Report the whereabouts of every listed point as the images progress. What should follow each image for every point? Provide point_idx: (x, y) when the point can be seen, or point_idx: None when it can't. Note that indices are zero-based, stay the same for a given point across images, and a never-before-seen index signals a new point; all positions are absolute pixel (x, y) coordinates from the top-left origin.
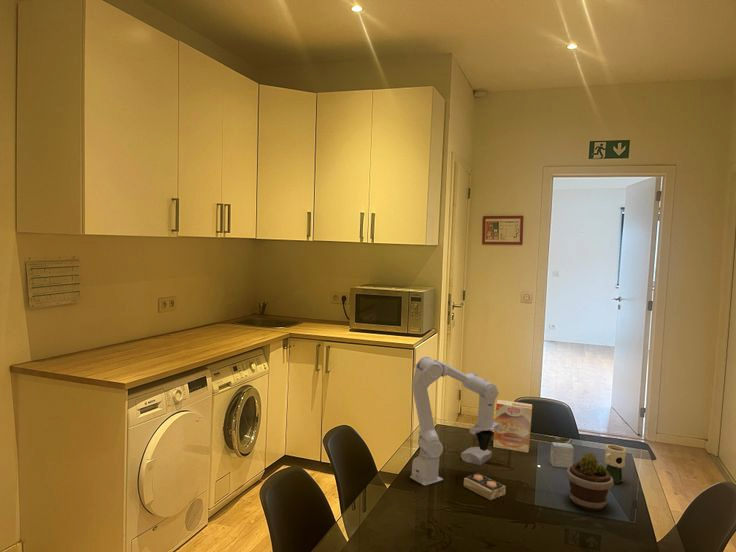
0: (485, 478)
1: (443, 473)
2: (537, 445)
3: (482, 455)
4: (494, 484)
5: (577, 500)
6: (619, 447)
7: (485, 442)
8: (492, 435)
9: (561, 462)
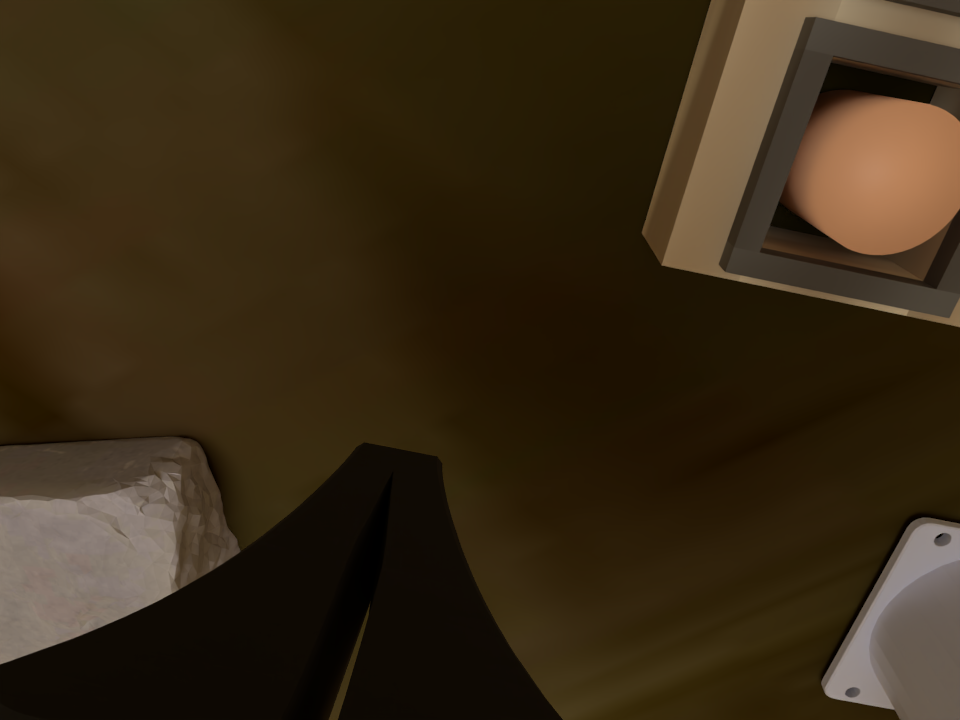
0: (815, 82)
1: (726, 587)
2: None
3: (88, 508)
4: None
5: None
6: None
7: (446, 580)
8: (79, 657)
9: None
